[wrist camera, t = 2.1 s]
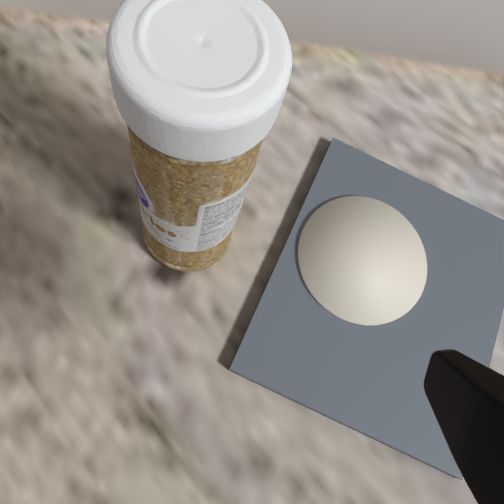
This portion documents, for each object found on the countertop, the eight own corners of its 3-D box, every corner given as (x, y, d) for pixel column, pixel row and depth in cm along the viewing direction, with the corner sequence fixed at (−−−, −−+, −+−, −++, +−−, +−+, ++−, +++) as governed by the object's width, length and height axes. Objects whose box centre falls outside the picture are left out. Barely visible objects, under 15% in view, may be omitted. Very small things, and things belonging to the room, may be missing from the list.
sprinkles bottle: (125, 220, 23) (63, 7, 10) (198, 176, 24) (222, -61, 12) (177, 292, 22) (179, 157, 10) (250, 242, 24) (333, 67, 11)
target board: (454, 477, 22) (464, 480, 21) (228, 370, 22) (230, 368, 21) (515, 232, 27) (525, 228, 26) (329, 143, 26) (334, 135, 26)
